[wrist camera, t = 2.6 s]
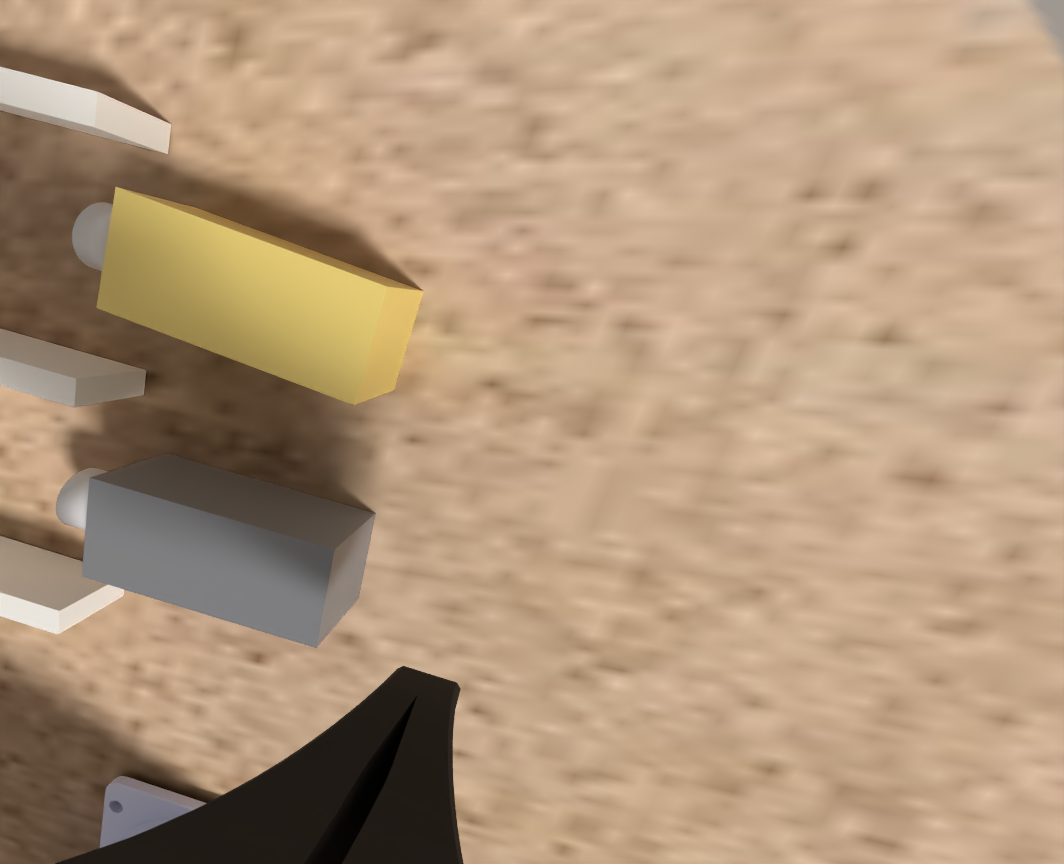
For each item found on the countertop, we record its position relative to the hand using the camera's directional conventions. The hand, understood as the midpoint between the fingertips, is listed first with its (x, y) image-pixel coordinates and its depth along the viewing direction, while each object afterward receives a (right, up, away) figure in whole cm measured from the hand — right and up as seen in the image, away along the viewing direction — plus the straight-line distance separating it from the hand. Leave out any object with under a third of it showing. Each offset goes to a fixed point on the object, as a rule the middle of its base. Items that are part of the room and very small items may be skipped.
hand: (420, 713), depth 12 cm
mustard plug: (-4, +10, +5) cm, 12 cm away
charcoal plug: (-6, +3, +6) cm, 9 cm away
